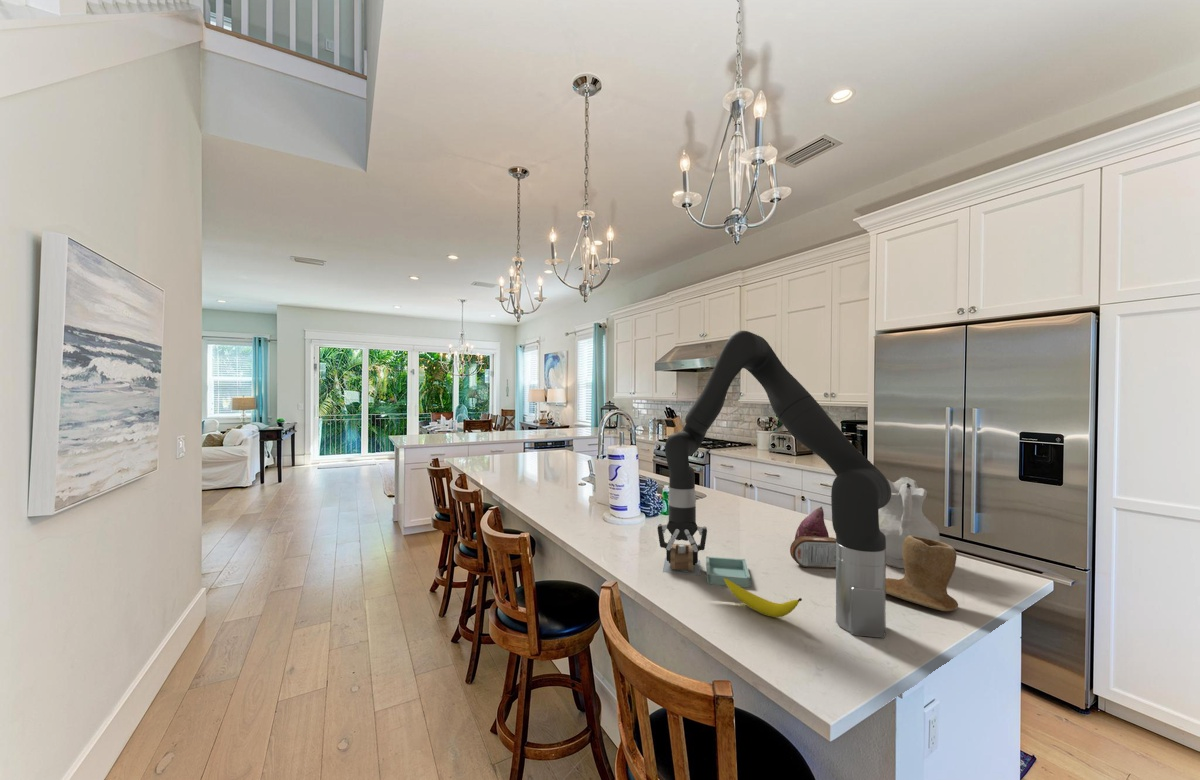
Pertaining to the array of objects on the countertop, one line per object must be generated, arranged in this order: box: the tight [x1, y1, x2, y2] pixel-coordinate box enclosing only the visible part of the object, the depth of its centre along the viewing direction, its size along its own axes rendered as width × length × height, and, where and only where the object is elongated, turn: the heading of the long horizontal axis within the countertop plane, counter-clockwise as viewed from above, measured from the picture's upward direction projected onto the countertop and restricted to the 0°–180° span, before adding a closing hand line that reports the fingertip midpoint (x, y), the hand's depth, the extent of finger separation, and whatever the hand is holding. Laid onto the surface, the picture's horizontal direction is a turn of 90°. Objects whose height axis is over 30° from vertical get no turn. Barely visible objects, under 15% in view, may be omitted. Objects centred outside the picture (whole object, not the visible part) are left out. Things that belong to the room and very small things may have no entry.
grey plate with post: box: [662, 544, 701, 576], centre depth 131 cm, size 11×10×6 cm
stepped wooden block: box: [670, 543, 693, 571], centre depth 131 cm, size 9×6×4 cm, turn 168°
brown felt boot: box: [886, 535, 959, 612], centre depth 111 cm, size 15×12×15 cm
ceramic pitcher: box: [878, 475, 940, 569], centre depth 135 cm, size 22×20×25 cm
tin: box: [789, 536, 836, 570], centre depth 132 cm, size 15×3×8 cm, turn 84°
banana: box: [724, 578, 802, 618], centre depth 105 cm, size 3×19×6 cm, turn 41°
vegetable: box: [794, 506, 830, 540], centre depth 149 cm, size 10×10×15 cm
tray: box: [705, 556, 752, 588], centre depth 125 cm, size 14×11×3 cm
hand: (682, 563), depth 131 cm, fingers closed on stepped wooden block, 6 cm apart
